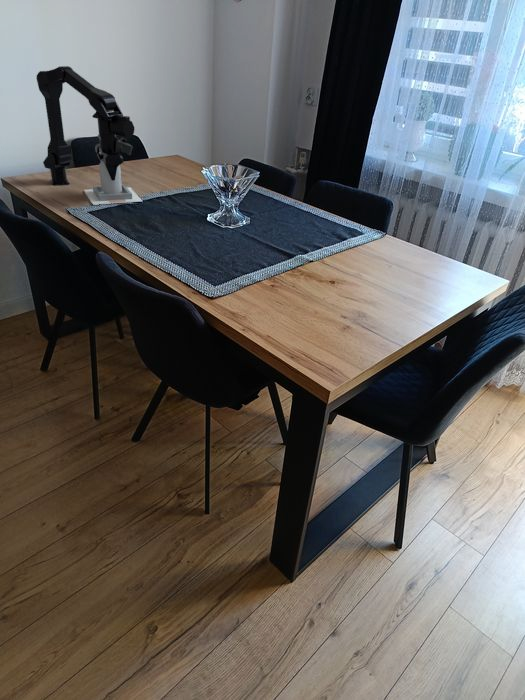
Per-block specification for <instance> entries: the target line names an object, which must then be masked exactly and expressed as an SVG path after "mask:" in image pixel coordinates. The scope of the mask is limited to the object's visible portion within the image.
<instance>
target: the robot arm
mask: <svg viewBox="0 0 525 700" xmlns="http://www.w3.org/2000/svg"><path fill="white" fill-rule="evenodd" d="M36 82H37V86H38V91H39V92H40V93H41V94H42V96H43V98H44V102H45V108H46V117H47V124H48V130H49V131H48V132H49V137H50V140H49V143H48V145H47V156H46V157H45V159H44V160H43V162H42V163H43V166H44V168H46V169H49V171H50V178H51V179H49V181H50V183H51V185H52V186H62V185H63V186H64V185H70V182H69V180H68V177H67V169H66V167H70V166H71V162H72V157H73V152H72V146H71V144H68V143H67V142H66V140H65V134H64V127H63V125H64V124H63V118H62V111H61V101H60V98H61V95H62V93H63V89H64V88H63V86H64V85H63V84H65V83H66V84H68V85H69V86H71V88H73V89H74V90H75V91H76V92H77V93H79V94H81V95H82V96H83V97H84V98H86V100H87V101H88V103H89V105H90V107H92V108H93V110H94V111H95V113H93V115H92V118H94V119H97V128H98V134H97V137H98V139H99V143H97V144H95V146H94V149H95V152H96V155H97V158H98V159H99V161H100V160H102V159H104V164H105V166H106V168H107V171H108V173H109V175H110V178H111V180H112V181H114V180H115V177H116V171H117V167H118V166H119V165H120V166H121V165H122V164H124V157H123V156H122V155H121V154H120V152H121V153H125V154H127V155H129V156H131V154H132V150H133V148H134V147H133V145H131V144H130V143H128V142H127V139H129V138H132V137H133V136H134V134H135V126H134V123H133V121H132V120H131V119H130V118H131V117H130V116H129V115H124V113H123V112H122V110H121V107H119V105H118V102H117V101H116V97H115V96H114V95H113V94H112V93H110V92H108V91H106V90H103V89H100V88H98V87H95V85H93V84H92V83H90V82H89V81H88V80H86V79H85V78H84V77H83V76H81V75H80V74H79V73H77V72H76V71H75V70H74V69H73V68H72V67H71V66H68V65H67V66H65V65H63V66H57V67H56V68H53V69H50V70H40V71H39V72H38V73H37V74H36ZM117 136H120V139H119V138H118V137H117ZM126 138H127V139H126Z"/></svg>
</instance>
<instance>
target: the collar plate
mask: <svg viewBox="0 0 525 700" xmlns="http://www.w3.org/2000/svg"><path fill="white" fill-rule="evenodd" d="M83 192H84V193H85V195H86V197H87V198H88V200H89V201H90V203H91V204H93V205H99V204H111V203H127V202H142V203H143V200H142V199H141V198H140V197H139V196H138V194H137V193H136V192H135V191H134V190H133V188H132V187H130V186H129V187H127V186H126V185H125V184H122V191H121V192H120V194H105V193H104V192H102V190H101V185H95V186H92V188H91V189H90V188H89V189H83ZM93 205H92V206H93Z"/></svg>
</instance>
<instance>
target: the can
mask: <svg viewBox="0 0 525 700" xmlns="http://www.w3.org/2000/svg"><path fill="white" fill-rule="evenodd" d="M99 161H100V163H99V164H98V167H99V176H100V177H99V178H100V186H101V190H102V192H104V193H105V194H120V192H121V191H122V185H123V183H122V174H121V173H122V172H121V164H120V165H119V166H118V167H117V171H116V177H115V180H114V181H112V180H111V178H110V175H109V173H108V171H107V168H106V166H105V164H104V159H102V160H100V159H99Z"/></svg>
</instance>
